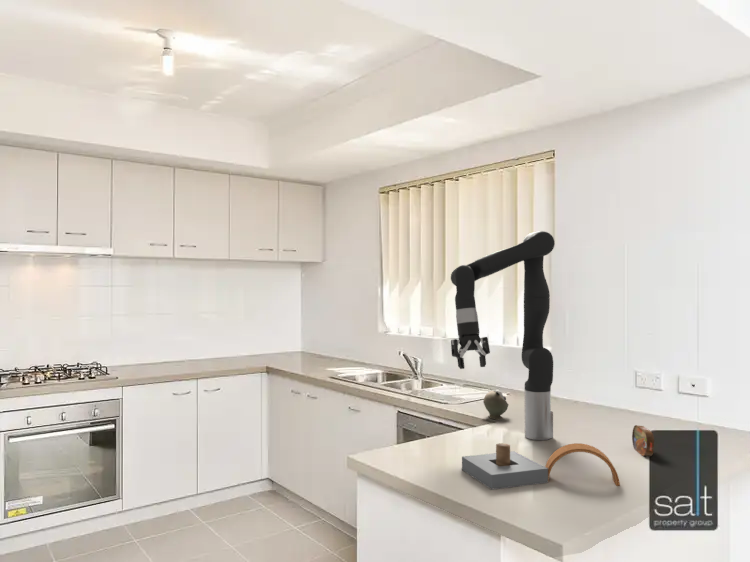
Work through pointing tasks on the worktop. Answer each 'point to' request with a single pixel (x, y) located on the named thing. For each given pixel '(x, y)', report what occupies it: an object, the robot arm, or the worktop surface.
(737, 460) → the worktop surface
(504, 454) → the peg
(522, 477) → the socket block
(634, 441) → the tin
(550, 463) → the arch
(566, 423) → the worktop surface
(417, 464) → the worktop surface
